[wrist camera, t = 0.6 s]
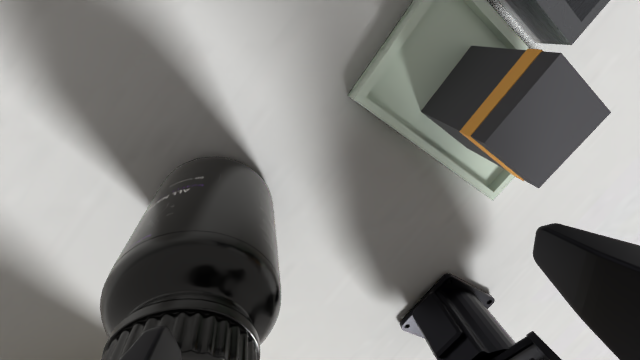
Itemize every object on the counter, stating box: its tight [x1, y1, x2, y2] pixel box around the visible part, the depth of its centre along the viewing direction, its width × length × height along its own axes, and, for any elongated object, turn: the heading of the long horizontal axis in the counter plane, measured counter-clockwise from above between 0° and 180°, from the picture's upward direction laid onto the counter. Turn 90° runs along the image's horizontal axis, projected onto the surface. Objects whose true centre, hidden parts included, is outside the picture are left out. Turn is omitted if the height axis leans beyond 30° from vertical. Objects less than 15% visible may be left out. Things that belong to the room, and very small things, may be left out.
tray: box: [348, 0, 529, 200], centre depth 20 cm, size 13×8×1 cm, turn 54°
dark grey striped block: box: [421, 46, 611, 188], centre depth 17 cm, size 5×5×6 cm
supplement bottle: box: [100, 157, 281, 360], centre depth 15 cm, size 7×7×12 cm
